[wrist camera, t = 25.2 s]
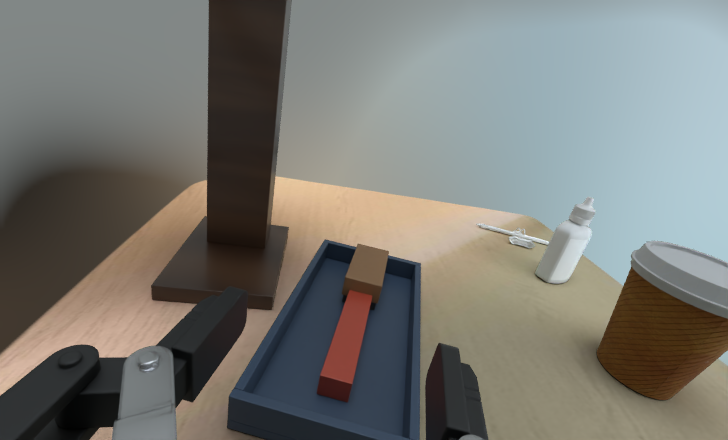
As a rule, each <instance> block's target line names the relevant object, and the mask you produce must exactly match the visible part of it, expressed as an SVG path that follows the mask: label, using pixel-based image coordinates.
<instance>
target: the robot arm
mask: <svg viewBox="0 0 728 440" xmlns="http://www.w3.org/2000/svg"><path fill="white" fill-rule="evenodd" d="M247 303H248V291H246V290H243V289H239V288H235V287H231V286H229V287H227V288H226V289H225V290H224V291H223V292H222V293H221V295H220V296H215V295H211V296H209V297H207V298H205V299H203V300H202V301H200V302H199V303H198V304H197V305H196V306H195V307H194V308H193V309H192V311H191V312H189V313H188V314H187V315H186V316H185V318H184V319H182V320H181V321H180V322H179V323H178V324H177V325H176V326H175V327H174V328H173V329H172V330H171V331H170V332H169V333H168V334H167V335H166V336H165V337H164V338H163V339H162V340H161V341H160V342H159V343H158V344H157V345H156V346H149V347H145V348H142V349H140V350H138V351H136V352H134V353H133V354H131V355H130V356H129V357H125V358H99V353H98V350H97V349H96V348H95V347H93V346H90V345H74V346H70V347H66V348H64V349H61V350H59V351H57V352H55V353H54V354H52V355H51V356H49V357H48V358H47V359H46V360H44V361H43V362H42V363H41V364H39V365H38V366H37V367H36V368H34V369H33V370H32V371H31V372H29V373H28V374H27V375H26V376H25V377H23V378H22V379H21V380H20V381H18V382H17V383H16V384H15V385H13V386H12V387H11V388H10V389H8V390H7V391H6V392H5V393H3V394H2V395H1V396H0V440H89V439H90V438H91V437H92V436H93V435H94V434H95V432H96V431H97V430H98V429H99V428H100V427H113V434H112V440H177V433H176V411H175V408H176V407H177V406H178V404H179V403H180V402H181V400H182V399H183V400H186V401H190V402H193V401H194V400H195V398H196V397H197V396H198V394H199V393H200V391H201V390H202V389H203V387H204V386H205V384H206V383H207V382H208V380H209V379H210V377H211V376H212V374H213V373H214V372H215V370H216V369H217V367H218V366H219V365H220V363H221V362H222V360H223V359H224V358H225V356H226V355H227V353H228V352H229V351H230V349H231V348H232V346H233V345H234V343H235V342H236V341H237V339H238V338H239V336H240V335H241V333H242V331H243V329H244V327H245V323H246V317H247ZM425 390H426V440H488V436H487V430H486V425H485V419H484V414H483V409H482V403H481V398H480V392H479V387H478V381H477V377H476V375H475V374H474V372H473V370H472V369H471V367H470V365H467V364H464V363H461V361H460V354H459V349H458V348H457V347H453V346H449V345H445V344H442V343H439V344H438V346H437V348H436V351H435V354H434V356H433V359H432V362H431V364H430V367H429V370H428V373H427V377H426V386H425Z"/></svg>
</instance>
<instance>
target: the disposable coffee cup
mask: <svg viewBox="0 0 728 440" xmlns="http://www.w3.org/2000/svg"><path fill="white" fill-rule="evenodd" d="M631 258H632V260H631V266H632V267H631V269H630V271H629V274H628V276H627V279H626V282H625V283H624V287H623V288H622V291H621V294H620V296H619V299H618V301H617V304H616V306H615V309H614V311H613V314H612V316H611V318H610V321H609V323H608V326H607V328H606V331H605V333H604V336H603V338H602V341H601V343H600V345H599V348H598V350H597V357H598V359H599V361H600V362H601V364H602V365H603V366H604V368H605V369H606V370H607V371H608V372H609V373H610V374H611V375H612V376H614V377H615V378H616V379H617V380H619V381H620V382H621V383H623V384H624V385H626V386H627V387H629V388H631V389H632V390H634V391H636V392H638V393H640V394H642V395H645V396H647V397H650V398H654V399H658V400H668V399H670V398H672V397H673V396H674V395H675V394H676V393H677V392H679V391H680V390H681V389H682V388H683V387H684V386H686V385H687V384H688V383H689V382H690V381H692V380H693V379H694V378H695V377H696V376H698V375H699V374H700V373H701V372H702V371H704V370H705V369H706V368H707V367H708V366H710V365H711V364H712V363H713V362H714V361H715V360H716V359H718V358H719V357H720V356H721V355H722V354H723V353H724V352H726V351H727V350H728V263H727V262H725V261H722V260H720V259H718V258H715V257H713V256H710V255H707V254H705V253H702V252H699V251H696V250H693V249H690V248H686V247H683V246H679V245H676V244H672V243H667V242H662V241H648V242H646V243H645V244H644V245H643V246H642V247H641V248H640V249H639V250H635V251H633V252H632V254H631Z"/></svg>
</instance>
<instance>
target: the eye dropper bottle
mask: <svg viewBox="0 0 728 440" xmlns="http://www.w3.org/2000/svg"><path fill="white" fill-rule="evenodd" d="M593 200H594V199H593V198H591V197H587V198H586V200H585V201H584V202H583V203H582V204H576V205H575V207H574V209H573V211H572V213H571V215H570V217H569V220H566V221H564V222H562V223H561V224H559V226H558V227H557V228H556V230H555V231H554V233H553V235H552V237H551V240H550V242H549V244H548V246H547V248H546V250H545V252H544V254H543V256H542V259H541V261H540V263H539V265H538V267H537V269H536V272H535V274H536V275H537V276H538V277H540V278H541V279H543V280H544V281H546V282H548V283H555V284H559V283H564V282H566V281H567V280H568V279H569V278H570V276H571V274H572V273H573V271H574V269H575V267H576V265H577V263H578V261H579V259H580V257H581V255H582V253H583V251H584V249H585V248H586V246H587V244H588V242H589V239H590V238H591V235H592V230H591V228H590V227H588V225H590V223H591V221H592V219H593V217H594V215H595V213H596V211H595V209H593V207H592V204H593Z"/></svg>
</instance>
